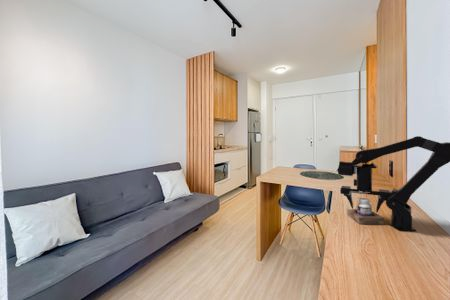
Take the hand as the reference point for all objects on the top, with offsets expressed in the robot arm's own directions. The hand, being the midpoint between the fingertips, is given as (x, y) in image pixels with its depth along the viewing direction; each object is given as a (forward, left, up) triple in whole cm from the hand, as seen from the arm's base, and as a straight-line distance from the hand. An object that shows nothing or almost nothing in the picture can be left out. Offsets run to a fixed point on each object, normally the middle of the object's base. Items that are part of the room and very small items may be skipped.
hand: (364, 210), depth 89 cm
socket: (0, 0, -4) cm, 4 cm away
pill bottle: (0, 0, -5) cm, 5 cm away
